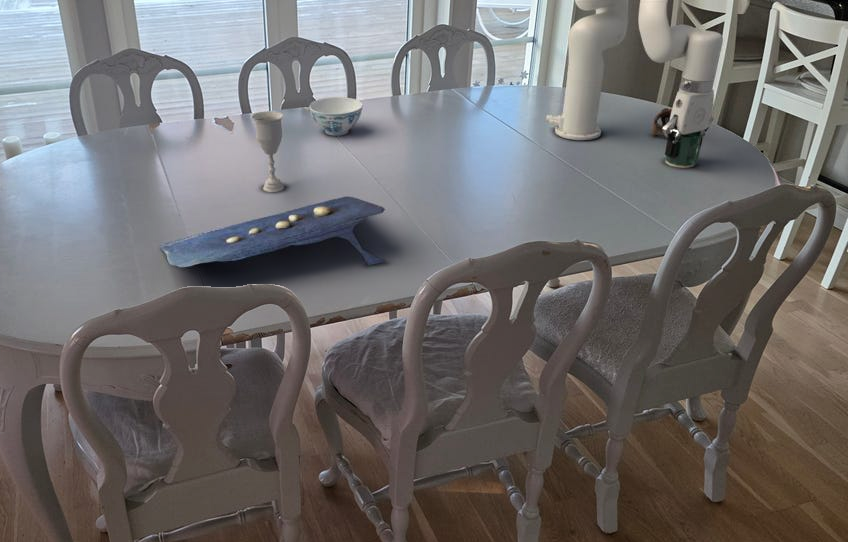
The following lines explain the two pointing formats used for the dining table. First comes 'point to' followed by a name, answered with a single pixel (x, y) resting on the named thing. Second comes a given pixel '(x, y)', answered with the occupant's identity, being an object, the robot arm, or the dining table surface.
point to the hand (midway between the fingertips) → (682, 153)
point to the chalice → (269, 143)
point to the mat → (276, 233)
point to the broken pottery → (665, 119)
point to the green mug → (686, 151)
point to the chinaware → (336, 114)
